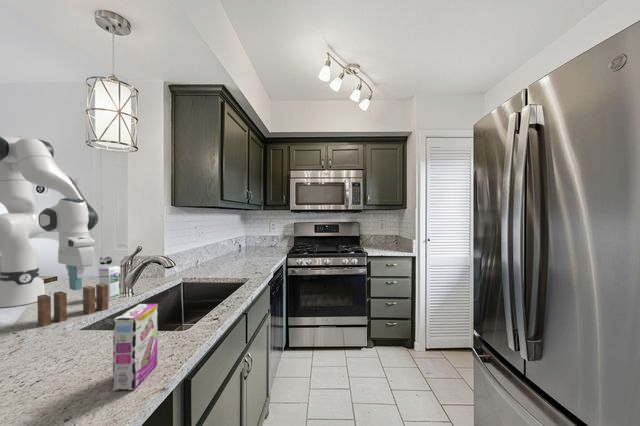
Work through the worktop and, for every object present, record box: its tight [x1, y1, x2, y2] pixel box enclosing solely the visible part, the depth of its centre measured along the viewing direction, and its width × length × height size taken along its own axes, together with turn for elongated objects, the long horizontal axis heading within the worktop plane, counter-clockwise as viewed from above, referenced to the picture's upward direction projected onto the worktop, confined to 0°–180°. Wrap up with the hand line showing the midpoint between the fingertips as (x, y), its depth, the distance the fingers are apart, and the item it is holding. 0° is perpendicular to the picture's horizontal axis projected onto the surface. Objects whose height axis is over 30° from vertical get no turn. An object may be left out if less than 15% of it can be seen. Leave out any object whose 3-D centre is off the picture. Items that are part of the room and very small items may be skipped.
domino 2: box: [53, 290, 68, 323], centre depth 107 cm, size 2×5×10 cm, turn 61°
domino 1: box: [37, 293, 52, 327], centre depth 103 cm, size 2×5×10 cm, turn 61°
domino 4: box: [82, 285, 96, 315], centre depth 115 cm, size 2×5×10 cm, turn 61°
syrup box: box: [98, 265, 122, 301], centre depth 133 cm, size 6×6×14 cm
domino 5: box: [95, 283, 109, 312], centre depth 119 cm, size 2×5×10 cm, turn 61°
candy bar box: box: [112, 303, 159, 392], centre depth 70 cm, size 11×5×16 cm, turn 5°
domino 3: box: [68, 265, 83, 291], centre depth 110 cm, size 2×5×10 cm, turn 61°
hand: (75, 276), depth 110 cm, fingers closed on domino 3, 5 cm apart
